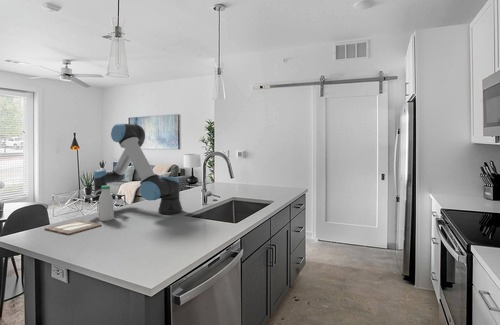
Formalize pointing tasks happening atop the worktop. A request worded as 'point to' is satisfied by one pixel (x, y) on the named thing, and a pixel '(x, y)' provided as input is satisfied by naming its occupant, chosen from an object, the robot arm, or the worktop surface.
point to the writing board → (73, 227)
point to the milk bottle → (106, 204)
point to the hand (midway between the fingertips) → (104, 200)
